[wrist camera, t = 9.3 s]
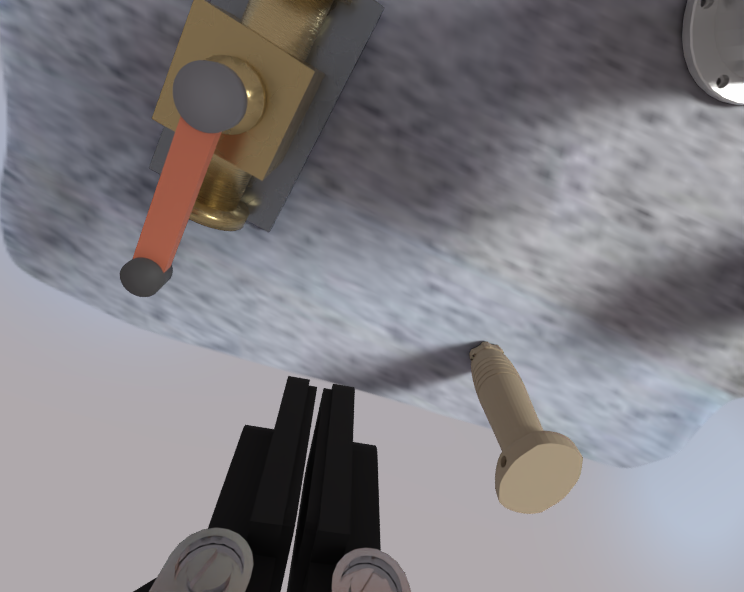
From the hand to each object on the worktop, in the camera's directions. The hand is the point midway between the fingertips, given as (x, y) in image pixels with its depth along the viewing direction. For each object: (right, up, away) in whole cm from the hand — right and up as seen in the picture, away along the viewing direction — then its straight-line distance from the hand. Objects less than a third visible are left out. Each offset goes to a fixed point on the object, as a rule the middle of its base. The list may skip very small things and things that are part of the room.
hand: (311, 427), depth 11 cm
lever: (-9, +9, +13) cm, 18 cm away
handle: (+12, -2, +32) cm, 34 cm away
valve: (-7, +18, +21) cm, 29 cm away
